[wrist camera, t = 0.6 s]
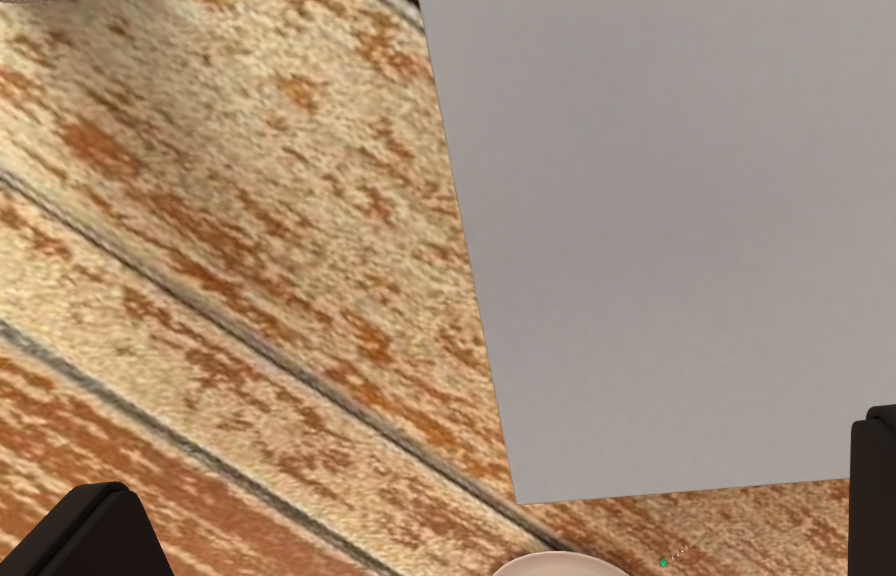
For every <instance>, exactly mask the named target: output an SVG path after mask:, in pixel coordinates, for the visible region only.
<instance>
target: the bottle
mask: <svg viewBox="0 0 896 576" xmlns="http://www.w3.org/2000/svg"><path fill="white" fill-rule="evenodd" d="M49 1H57V0H0V2H5V3H39V2H49Z"/></svg>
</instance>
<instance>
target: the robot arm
mask: <svg viewBox="0 0 896 576" xmlns="http://www.w3.org/2000/svg"><path fill="white" fill-rule="evenodd" d="M0 576H174V574H173V572H172V570H171V568H170V565H169V563H168V561H167V559H166V557H165V554H164V552H163V550H162V548H161V545H160V543H159V541H158V539H157V536H156V534H155V532H154V530H153V528H152V525H151V523H150V521H149V519H148V516H147V514H146V512H145V510H144V507H143V505H142V503H141V501H140V499H139V497H138V496H137V494H136V493H134V492H133V491H130V490H129V489H128V487H127V486H126V485H124V484H123V483H121V482H116V481H115V482H105V483H95V484H85V485H80V486H76V487H75V488H73V489H72V490H71V491H69V492H68V493H67V495H66V496H65V497H64V498H63V499H62V500H61V501H60V502H59V503H58V504H57V505H56V506H55V507H54V508H53V509H52V510H51V511H50V512H49V513H48V514H47V515H46V516H45V517H44V518H43V519H42V520H41V522H40V523H39V524H38V525H37V526H36V527H35V528H34V529H33V530H32V531H31V532H30V533H29V534H28V535H27V536H26V537H25V538H24V539H23V540H22V541H21V542H20V543H19V544H18V545H17V546H16V547H15V549H14V550H13V551H12V552H11V553H10V554H9V555H8V556H7V557H6V558H5V559H4V560H3V561H2V562H1V563H0ZM848 576H896V404H891V405H881V406H873V407H871V408H869V410H868V412H867V414H866V420H859V421H855V422H853V424H852V427H851V445H850V490H849V536H848Z"/></svg>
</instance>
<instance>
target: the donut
mask: <svg viewBox="0 0 896 576" xmlns="http://www.w3.org/2000/svg"><path fill="white" fill-rule="evenodd" d="M690 546H691V547H692V542H691V541H690ZM685 548H686V549H687V545H686V544H685ZM681 552H683V547H681ZM671 554H672V560H674V555H673V553H671ZM677 556H678V557H679V550H677ZM659 564H660V566H662V567H665V566H666V565H667V562H666V561H665V560H664V559H661V560H660V562H659ZM493 576H630V575H628V574H627V573H625V572H624V571H622V570H621V569H619V568H618V567H616V566H615V565H613V564H610V563H608V562H606V561H604V560H602V559H599V558H596V557H593V556H589V555H586V554H582V553H576V552H569V551H543V552H537V553H530V554H527V555H524V556H521V557H518V558H516V559H514V560H512V561H510V562H509V563H507V564H505V565H503V566H502V567H501V568H500V569H499V570H498V571H497V572H495V573H494V574H493Z"/></svg>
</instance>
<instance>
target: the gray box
mask: <svg viewBox="0 0 896 576" xmlns="http://www.w3.org/2000/svg"><path fill="white" fill-rule="evenodd" d="M419 5H420V10H421V15H422V20H423V25H424V31H425V36H426V41H427V46H428V51H429V56H430V61H431V67H432V72H433V77H434V82H435V87H436V92H437V98H438V103H439V108H440V113H441V118H442V123H443V129H444V134H445V139H446V144H447V149H448V154H449V160H450V165H451V170H452V175H453V180H454V185H455V190H456V196H457V201H458V206H459V211H460V216H461V221H462V227H463V232H464V237H465V242H466V247H467V252H468V258H469V263H470V268H471V273H472V278H473V283H474V289H475V294H476V299H477V304H478V309H479V314H480V319H481V325H482V330H483V335H484V340H485V345H486V350H487V356H488V361H489V366H490V371H491V376H492V381H493V387H494V392H495V397H496V402H497V407H498V412H499V418H500V423H501V428H502V433H503V438H504V443H505V448H506V454H507V459H508V464H509V469H510V474H511V479H512V485H513V490H514V495H515V500H516V503H517V505H527V504H540V503H552V502H564V501H577V500H589V499H601V498H614V497H626V496H638V495H651V494H663V493H676V492H688V491H700V490H713V489H725V488H737V487H750V486H762V485H774V484H787V483H799V482H812V481H824V480H836V479H849V478H850V445H851V427H852V424H853V422H855V421H859V420H866V414H867V412H868V410H869V408H871V407H873V406H881V405H891V404H896V0H419Z"/></svg>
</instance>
